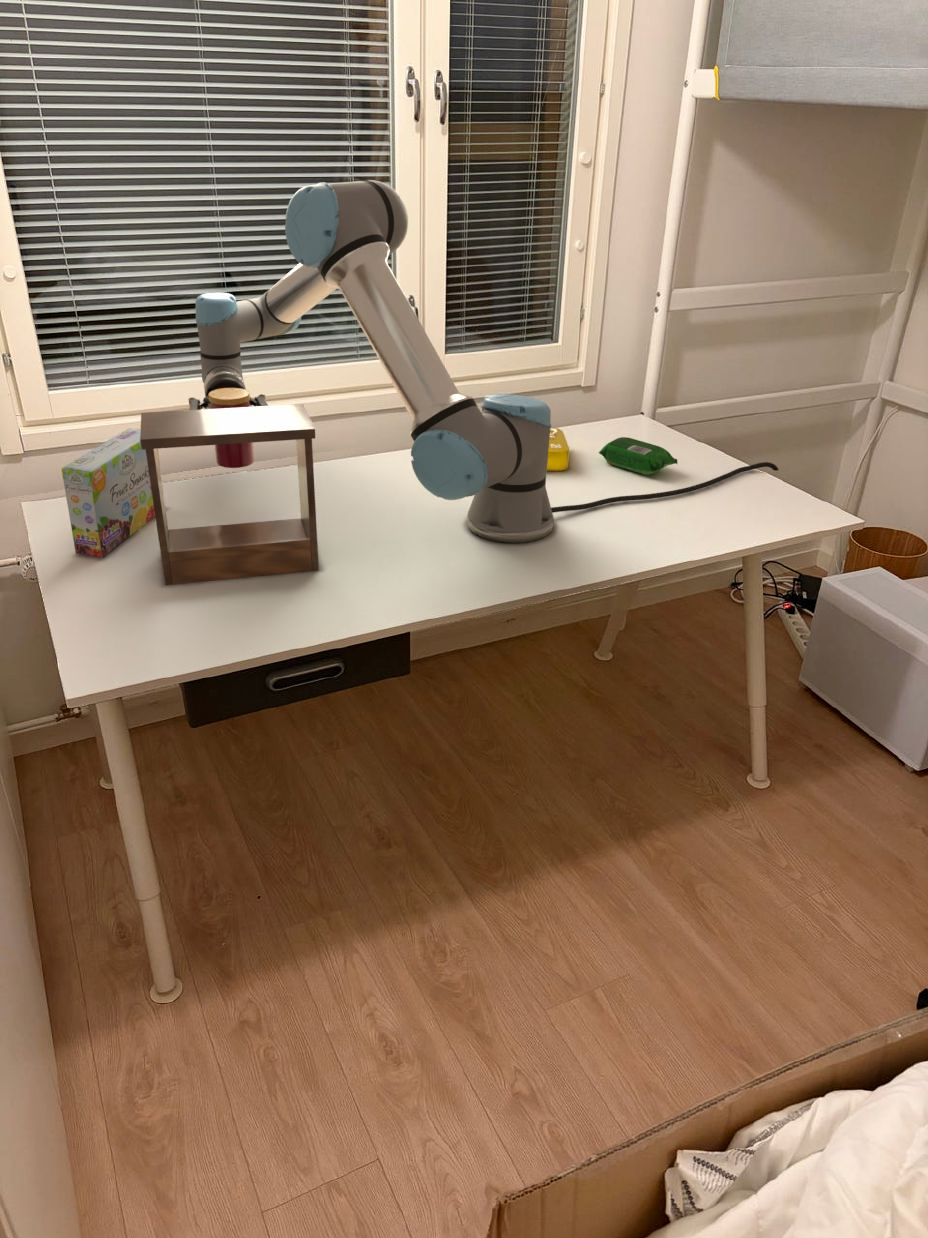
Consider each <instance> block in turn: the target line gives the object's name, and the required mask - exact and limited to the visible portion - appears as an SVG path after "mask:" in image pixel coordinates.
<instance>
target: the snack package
mask: <svg viewBox="0 0 928 1238" xmlns="http://www.w3.org/2000/svg"><path fill="white" fill-rule="evenodd" d="M598 454H600V455H601V456H602V457H603V458H604V460H605V461H606V462H607V463H608V464H610V465H612V466H615V467H618V468H622V469H625V470H628V471H631V472H634V473H638V474H642V475H645V476H651V475H653V474H655V473H657V472H659V471H660V470H662V469H664V468H666V467H667V466H671V465H678V458H675V457H673V456H672V454H671V453H670V452H669V451H668V450H667V449H665V448H664V447H662V446H659V445H656V444H652V443H650V442H647V441H644V440H643V441H642V440H639V439H635V438H633V437H632V438H631V437H626V436H621V437H618V438H615V439H613V440H611V441H610V442H608V443H606V444H605V445H604V446H603V447H602V448H601V450H599V452H598Z"/></svg>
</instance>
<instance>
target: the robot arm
mask: <svg viewBox="0 0 928 1238" xmlns="http://www.w3.org/2000/svg"><path fill="white" fill-rule="evenodd" d="M408 229H409V215H408V209H407V207H406V204H405V201H404V200H403V198H402V197H401V195H400V194H399V193H398V192H397V191H396V190H395V189H394V188H393V187H392V186H390V185H388V184H387V183H385V182H382V181H378V180H374V179H365V180H356V181H346V182H334V183H333V182H332V183H328V182H324V181H322V182H317V183H316V184H312V185H311V184H310V185H306V186H302V187H301V188H299V189H298V190H297V191H296V192H295V193H294V194H293V196H292V197H291V199H290V200H289V202H288V205H287V208H286V212H285V224H284V232H285V238H286V239H285V240H286V243H287V246H288V249H289V251H290V253H291V255H292V257H294V259H295V260H296V261H297V262H298V263H297V264H296V265H295V266H294V267H293V268H292V269H291V270H290V271H289V272H288V273H286V274H285V275H284V276H283V277H282V278H280V280H278V281H277V282H276V283H275V284H274V285H272V286H271V287H270V288H269V289H268V290H267V291H266V292H264V293H263V294H262V295H261V296H259V297H255V298H249V299H243V300H238V301H237V299H236V296H234V295H233V294H231V293H228V292H207V293H206V292H205V293H202V294H200V295H198V296H197V297H196V299H195V323H196V327H197V335H198V342H199V348H200V349H199V350H200V351H199V353H200V355H199V357H200V364H201V380H202V383H203V390H204V397H203V399H202V400H200V399H198V398H196V397H189V398H188V407H189V410H202V409H211V405H210V401H209V393H210V392H211V391H213V390H216V389H221V388H240V389H245V390H247V389H246V385H245V381H244V377H243V368H242V357H241V353H242V352H241V344H242V343H246V342H250V341H255V340H260V339H265V338H269V337H270V338H271V337H275V336H283V335H286V334H287V333H291V332H294V331H295V330H297V329H298V327H299V326H300V322H301V321H302V317H303V316H304V315H305V314H306V313H308V312H310V310H311V309H313V308H314V307H315V306H316V305H318V304H319V303H320V302H322V301H323V300H325V298H327V297H328V296H329V295H331V294H332V293H333V292H335V291H336V290H339V291H340V292H341V294H342V295H343V297H344V300H345V301H346V303H347V304H348V307H349V308H350V310H351V312H352V314H353V316H354V318H355V319H356V321H357V323H358V325H359V326H360V328H361V330H362V331H363V334H364V336H365V337H366V339H367V341H368V342H369V344H370V346H371V347H372V349H373V351H374V353H375V355H376V357H377V359H378V360H379V362H380V364H381V366H382V367H383V369H384V371H385V373H386V375H387V377H388V378H389V379H390V382H391V384H392V385H393V387H394V390H395V391H396V393H397V394H398V396H399V397H400V400H401V401H402V403H403V406H405V409H406V410H407V412H408V414H409V416H410V417H411V419H412V424H411V428H410V430H409V436H410V437H411V439H412V440H413V444H412V446H411V450H410V457H412V459H411V461H410V462H411V467H412V470H413V473H414V474H415V477H416V478H417V480H418V481H419V483H420V484H421V486H423V488H424V489H426V491H428V492H429V493H430V494H432V495H433V496H436V497H437V498H441V499H444V500H448V501H456V500H461V499H463V498H468V497H473V498H472V501H471V504H470V506H469V508H468V511H467V527H468V528H469V530H470V531H471V532H472V533H473V534H475V535H477V536H479V537H482V538H484V539H487V540H491V541H494V542H500V543H514V544H515V543H527V542H533V541H537V540H540V539H542V538H545V537H547V536H549V534H550V533H551V532H552V531H553V529H554V527H553V526H554V514H553V513H561V512H571V511H582V510H588V509H592V508H596V507H600V506H603V505H608V504H613V503H619V502H620V503H621V502H627V501H628V502H630V501H643V500H644V501H645V500H652V499H653V500H654V499H659V498H666V497H672V496H677V495H683V494H687V493H691V492H694V491H697V490H701V489H705V488H707V487H710V486H712V485H714V484H718V483H719V482H722V481H724V480H727V479H730V478H731V477H734V476H736V475H739V474H741V473H745V472H749V471H753V470H756V469H759V468H770V469H772V470H773V471H777V472H779V470H780V469H779V468H778V466H777V465H776V464H775V463H772V462H770V461H764V462H763V461H762V462H758V463H754V464H750V465H745V466H742V467H738V468H736V469H733V470H731V471H729V472H727V473H725V474H722V475H719V476H717V477H714V478H712V479H710V480H707V481H704V482H700V483H698V484H695V485H691V486H687V487H684V488H679V489H673V490H668V491H661V492H653V493H646V494H633V495H620V496H613V497H608V498H603V499H599V500H595V501H592V502H588V503H587V502H586V503H581V504H572V505H562V506H561V505H560V506H554V507H553V506H552V507H551V503H550V499H549V495H548V491H547V472H548V471H547V461H548V449H549V437H550V428H552V424H551V416H552V415H551V414H552V413H551V408H550V406H549V405H548V404H547V403H546V402H545V401H542V400H540V399H538V398H534V397H531V396H525V395H519V394H517V395H516V394H511V393H493V394H488V395H485V396H484V397H483V399H482V404H481V405H480V408H481V410H480V408H479V406H478V405H477V402H476V400H475V399H474V398H473V396H470V395H466V394H464V393H461V392H459V390H458V388H457V387H456V385H455V383H454V381H453V379H452V377H451V375H450V374H449V372H448V370H447V368H446V367H445V365H444V363H443V361H442V359H441V357H440V356H439V354H438V352H437V350H436V348H435V347H434V345H433V343H432V342H431V339H430V338H429V336H428V334H427V332H426V330H425V329H424V326H423V325H422V323H421V322H420V320H419V318H418V316H417V314H416V312H415V311H414V308H413V307H412V306H411V304H410V301H409V300H408V298H407V296H406V294H405V293H404V291H403V289H402V287H401V286H400V283H398V280H397V279H396V277H395V275H394V273H393V271H392V269H391V267H390V266H389V264H388V258H389V257H390V256H391V255H392V254H394V253H395V251H397V250H398V249H399V248H400V247H401V245H402V243H403V242H404V240H405V238H406V236H407V234H408ZM249 404H250V407H257V406H269V404H268V403H267V400H266V394H259V395H257V396H254V398H252V397H251V396H250V400H249Z"/></svg>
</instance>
